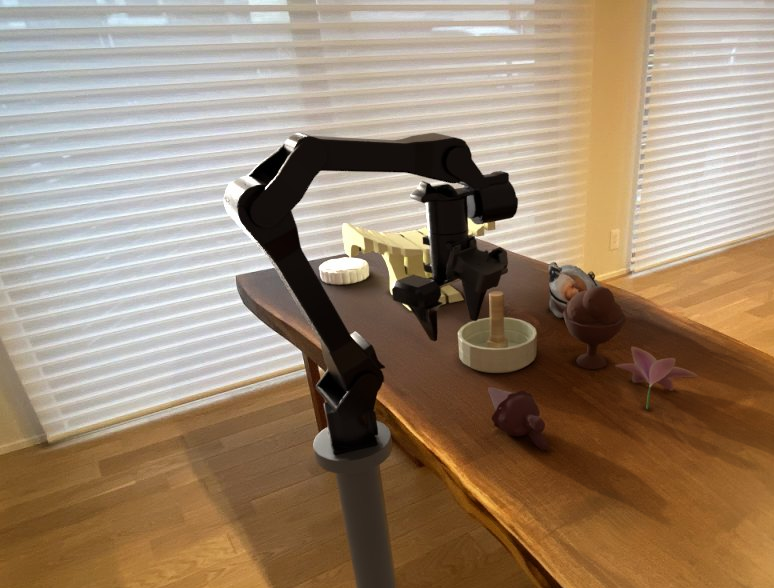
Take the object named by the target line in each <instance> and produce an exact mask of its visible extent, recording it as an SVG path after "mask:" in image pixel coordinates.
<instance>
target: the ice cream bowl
mask: <svg viewBox="0 0 774 588" xmlns="http://www.w3.org/2000/svg"><path fill="white" fill-rule="evenodd" d="M563 314H564V318H563V320H564V322H565V325H566V328H567V330H568V332H569V334H570V335H571V336H572V337H573V338H574V339H576V340H577V341H580V342H582V343H584V344H586V345H587V350H586V351H587V352H585V353H582V354H580V355H579V356H578V357H577V358H576V360H575V361H576V364H577V366H579V367H581V368H583V369H588V370H589V369H590V370H597V369H603V368H604V367H605V366H606V365H607V360H606V358H605V357H604V356H603V355H601V354H599V353H598V346H599V345H601V344H605V343H607V342H609V341H611V340H612V339H613V338H614V337H616V335H617V334H619V333H620V332H621V331H622V330H623V327H625V323H626V320H627V316H626V315H625V313H624V312H623V309H622V306H621V305H620V304H619V303H618V302H616V301H615V296H614V294H613V292H612V291H611V290H610V289H609V288H607V287H605V286H602V285H601V286H594V287H591V288H590V290H588V291H583V292H579V293H578V294H576V295H575V296H574V297H573V298H572V299H571V300H570V302H569V303H568V307H567V310H565V311H564V312H563Z"/></svg>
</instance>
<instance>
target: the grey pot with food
mask: <svg viewBox="0 0 774 588" xmlns="http://www.w3.org/2000/svg"><path fill="white" fill-rule="evenodd" d="M547 270H548V272H547V273H548V275H549V279H548V280H549V281H548V284H549V285H548V289H549V302H548V306H549V310H550V311H551V312H552V313H553V314H554V316H556V317H557V318H558V319H564V314H563V312H564V311H565V310H567V307H568V303H569V302H570V300H571V299H572V298H573V297H574V296H575V295H576V294H578V293H579V292H583V291H588V290H590V288H591V287H594V286H602V285H601V284H600V283H599V282H598V281H597V280H596V279H595V278H596V274H595V273H594V272H593V271H592V270H590V271H588V272H587V273H586V272H585V271H584V270H583V269H582V268H580V267H578V266H577V265H572V264H565V265H561V266H559V265H558V264H557V262H556V261H552V262H550V263H549V264H548V268H547Z"/></svg>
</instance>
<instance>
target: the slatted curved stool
mask: <svg viewBox="0 0 774 588" xmlns="http://www.w3.org/2000/svg"><path fill="white" fill-rule="evenodd" d="M341 228H342V229H341V232H342V241H343V245H344V246H343V247H344V253H345V254H346V255H347V256H348V257H351V258H355V257H356V256H360V253H362V255H365V254H371V253H373V252H374V253H376V254H379V255H381V256H382V258H383V260H384V262H385V264H386V267H387V269H388V274H389V292H390V294H391V295H392V296H393V294H392V285H393V284H394V283H395V281H397V280H400V279H402V278H405V277H408V276H410V275H417V276H421V277H424V278H430V277H433V276H432V273H428V272H425V265H426V264H429V263H431V262H430V249H429V245H425V244H423V237H425V236H428V225H427V226H425V227H422V228H418V230H416V229H412V230H408V231H400V232H399V233H398V232H384V231H381V232H378V231H377V230H374V229H373V230H372V229H368V230H367V229H365V228H364V227H360V226H357V225H356V226H354V225H353V224H351V223H348V222H343V224H342V227H341ZM495 230H496V221H494V222H489V223H484V224H475V223H474V222H472V220H471V219H470V218H468V231H469V235H472V236H475V238H476V237H477V238H478V237H484V236H485V231H488V232H489V231H495ZM461 301H465V298H464V297H463V296H462V294H461V292H459V291H458V290H456V289H455V287H453V286H452V285H451V284H449V285H447V286H445V287H442V288H441V297H440V299H439V302H442V305H446V304H447V303H448V304H452V303H455V302H456V303H457V302H461ZM402 305H403V306H404V307H405V308H407V309H408V310H409V311H410V312H412V310H411V309H410V308H409V306H408V305H405V304H402Z"/></svg>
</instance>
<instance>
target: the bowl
mask: <svg viewBox="0 0 774 588" xmlns="http://www.w3.org/2000/svg"><path fill="white" fill-rule="evenodd" d="M504 336H505V337H507V339H508V347H507V348H487V339H488V338H489V337H490V317H484V318H478V320H477V321H472V320H471V321H468V322H467V323H466V324H464V325H462V326H461V327H460V328H459V330H458V331H457V341H458V343H457V344H458V358H459V360H460V361H461V363H462V364H464V365H465V366H467V367H469V368H470V369H473V370H474V371H478V372H481V373H482V372H483V373H488V374H503V373H512V372H515V371H518V370H521V369H524V368H525V367H528V366H529V365H530V364H531V363H533V362H534V361H535V359H536V357H537V353H538V352H537V349H538V348H537V347H538V346H537V345H538V338H537V337H538V333H537V329H536V327H535V326H533V325H532V324H531V323H529V322H527V321H525V320H523V319H518V318H514V317H506V316H504Z"/></svg>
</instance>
